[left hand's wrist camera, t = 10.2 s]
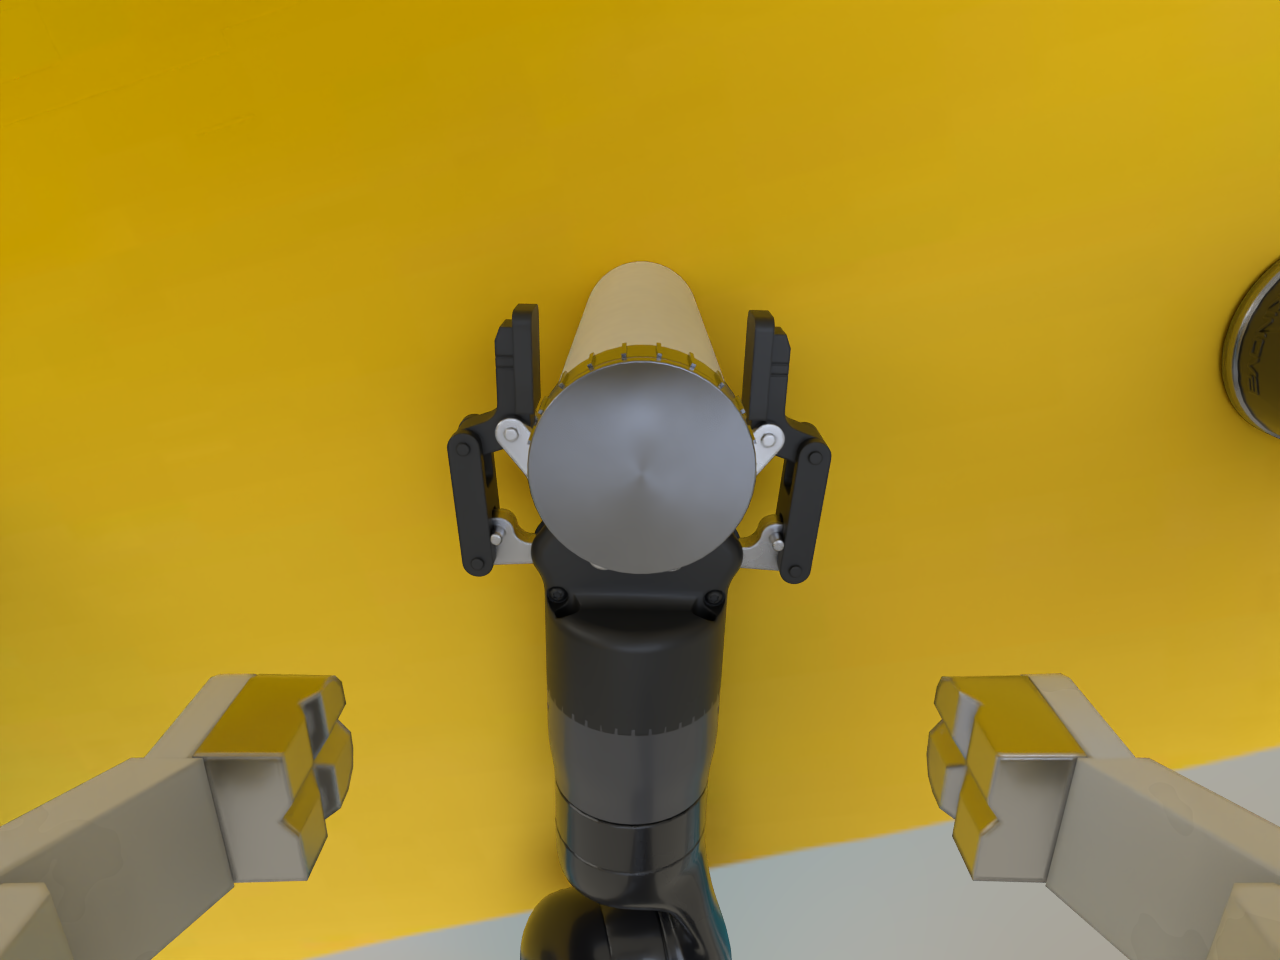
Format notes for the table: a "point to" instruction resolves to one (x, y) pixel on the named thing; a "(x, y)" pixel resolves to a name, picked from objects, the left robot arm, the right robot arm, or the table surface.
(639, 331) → the cream cylinder
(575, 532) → the lid
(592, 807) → the right robot arm
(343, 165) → the table surface
